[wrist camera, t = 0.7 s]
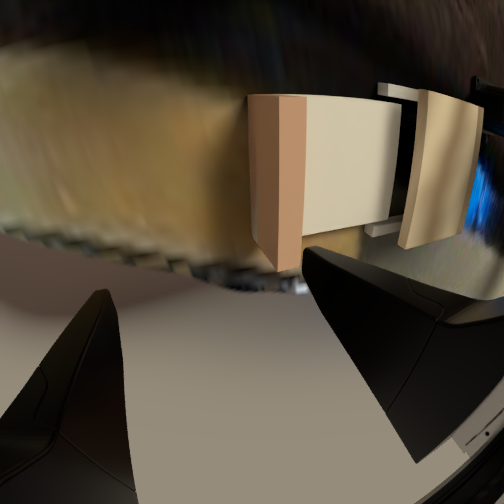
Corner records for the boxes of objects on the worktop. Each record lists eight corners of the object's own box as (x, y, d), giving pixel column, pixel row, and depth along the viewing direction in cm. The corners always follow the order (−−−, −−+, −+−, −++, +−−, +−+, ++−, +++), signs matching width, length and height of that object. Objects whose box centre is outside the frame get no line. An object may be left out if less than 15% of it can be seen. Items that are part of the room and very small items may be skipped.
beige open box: (452, 100, 22) (483, 108, 18) (434, 216, 28) (461, 233, 25) (377, 82, 19) (415, 87, 15) (363, 231, 25) (392, 253, 22)
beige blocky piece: (388, 102, 20) (435, 112, 16) (377, 212, 25) (414, 238, 21) (246, 94, 17) (279, 96, 13) (250, 234, 22) (277, 271, 18)
